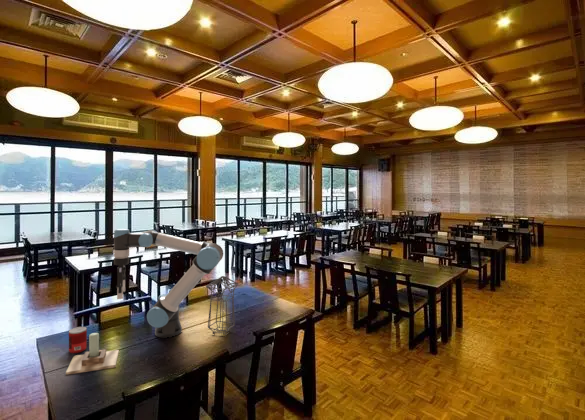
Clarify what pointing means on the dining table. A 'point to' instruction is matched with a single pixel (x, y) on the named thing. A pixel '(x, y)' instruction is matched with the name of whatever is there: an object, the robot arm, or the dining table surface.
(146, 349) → the dining table surface
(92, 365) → the socket board
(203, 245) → the robot arm
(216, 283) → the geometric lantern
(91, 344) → the peg
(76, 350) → the canned food
